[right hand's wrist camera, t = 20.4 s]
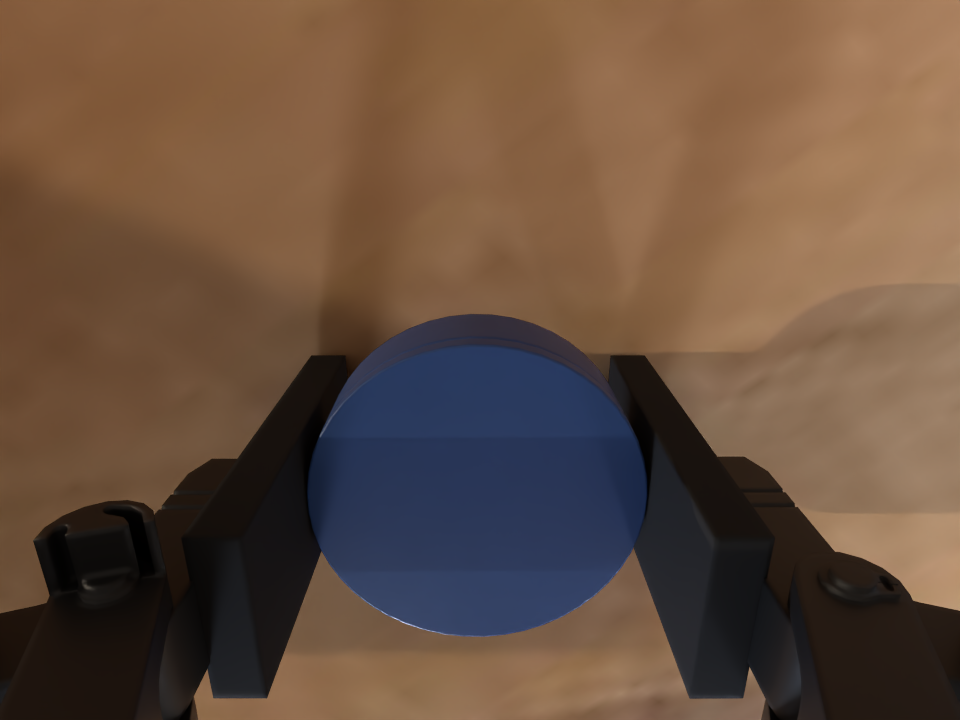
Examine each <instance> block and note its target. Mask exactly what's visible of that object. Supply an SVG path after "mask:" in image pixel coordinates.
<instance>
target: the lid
mask: <svg viewBox="0 0 960 720" xmlns="http://www.w3.org/2000/svg"><path fill="white" fill-rule="evenodd" d="M647 497H648V493H647V473H646V467H645V461H644V457H643V453H642V450H641V447H640V444H639V441H638V439H637V437H636V435H635V433H634V431H633V429H632V427H631V425H630V423H629V421H628V419H627V417H626V415H625V414H624V412H623V410H622V408H621V406H620V404H619V402H618V400H617V398H616V396H615V395H614V393H613V391H612V389H611V387H610V385H609V383H608V382H607V380H606V379H605V378H604V376H603V375H602V373H601V372H600V370H599V369H598V368H597V367H596V366H595V365H594V364H593V362H592V361H591V360H590V359H589V358H588V357H587V356H586V355H585V354H584V353H583V352H581V351H580V350H579V349H577V348H576V347H575V346H574V345H572V344H571V343H570V342H569V341H567V340H565V339H563V338H562V337H560V336H558V335H557V334H555V333H553V332H552V331H549V330H547V329H545V328H542V327H540V326H538V325H535V324H533V323H530V322H526V321H522V320H519V319H515V318H511V317H504V316H498V315H486V314H467V315H458V316H449V317H444V318H440V319H436V320H432V321H428V322H425V323H423V324H420V325H417V326H415V327H412V328H409V329H407V330H405V331H404V332H402V333H400V334H398V335H396V336H394V337H392V338H391V339H389V340H388V341H386V342H385V343H384V344H382V345H381V346H379V347H378V348H377V349H375V350H374V351H373V352H372V353H371V354H370V355H369V356H368V357H367V358H366V359H364V360H363V361H362V362H361V363H360V364H359V366H358V367H357V368H356V370H355V371H354V372H353V373H352V375H351V376H350V377H349V378H348V380H347V382H346V383H345V385H344V387H343V389H342V390H341V392H340V394H339V396H338V398H337V400H336V402H335V404H334V406H333V408H332V410H331V412H330V415H329V417H328V419H327V421H326V423H325V425H324V427H323V429H322V431H321V433H320V436H319V438H318V441H317V443H316V446H315V448H314V451H313V454H312V458H311V462H310V467H309V471H308V481H307V501H308V512H309V516H310V520H311V524H312V528H313V531H314V534H315V536H316V539H317V541H318V544H319V547H320V549H321V550H322V552H323V554H324V556H325V557H326V559H327V561H328V563H329V564H330V566H331V567H332V568H333V569H334V571H335V572H336V573H337V575H338V576H339V577H340V579H341V580H342V581H343V582H344V583H345V584H346V585H347V586H348V587H349V588H350V589H351V590H352V591H353V592H354V593H355V594H357V595H358V596H359V597H361V598H362V599H363V600H364V601H366V602H367V603H368V604H370V605H371V606H373V607H374V608H376V609H378V610H379V611H381V612H383V613H384V614H386V615H388V616H390V617H392V618H394V619H396V620H399V621H401V622H403V623H405V624H408V625H411V626H414V627H417V628H420V629H423V630H427V631H432V632H436V633H441V634H447V635H456V636H478V637H485V636H495V635H505V634H510V633H515V632H520V631H525V630H528V629H531V628H535V627H538V626H541V625H544V624H546V623H549V622H551V621H553V620H556V619H558V618H560V617H562V616H564V615H566V614H568V613H570V612H571V611H573V610H575V609H577V608H578V607H580V606H581V605H583V604H584V603H585V602H587V601H588V600H589V599H591V598H592V597H594V596H595V595H596V594H597V593H598V592H599V591H600V590H601V589H602V588H603V587H605V586H606V585H607V584H608V583H609V582H610V581H611V579H612V578H613V577H614V576H615V575H616V573H617V572H618V571H619V570H620V569H621V567H622V566H623V564H624V563H625V561H626V559H627V558H628V556H629V555H630V553H631V552H632V549H633V547H634V545H635V543H636V541H637V538H638V536H639V534H640V530H641V527H642V524H643V520H644V517H645V511H646V504H647Z"/></svg>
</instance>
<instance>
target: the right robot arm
mask: <svg viewBox="0 0 960 720" xmlns="http://www.w3.org/2000/svg"><path fill="white" fill-rule="evenodd" d="M346 382H347V369H346V357H345V356H311V357H310V358H309V360H308V361H307V363H306V364H305V365H304V367H303V368H302V370H301V371H300V372H299V374H298V375H297V377H296V378H295V379H294V381H293V382H292V383H291V385H290V386H289V388H288V389H287V390H286V392H285V393H284V395H283V396H282V397H281V399H280V400H279V402H278V403H277V404H276V406H275V407H274V409H273V410H272V411H271V413H270V414H269V416H268V417H267V418H266V420H265V421H264V423H263V424H262V425H261V427H260V428H259V429H258V431H257V432H256V434H255V435H254V436H253V438H252V439H251V441H250V442H249V443H248V445H247V446H246V448H245V449H244V450H243V452H242V453H241V455H240V456H239V457H238V459H211V460H210V461H208V462H206V463H205V464H203V465H202V466H200V467H198V468H197V469H195V470H194V471H192V472H190V473H189V474H188V475H187V476H186V477H185V479H184V480H183V481H182V482H181V483H180V485H179V486H178V487H177V488H176V489H175V491H174V495H170V497H169V498H168V499H167V500H166V502H165V503H164V504H163V505H162V509H161V510H158V511H157V512H156V514H155V515H154V512H153V510H152V509H151V508H149V507H148V506H147V505H145V504H144V503H140V502H134V501H129V500H123V501H107V502H103V503H99V504H95V505H90V506H86V507H83V508H81V509H78V510H76V511H73V512H71V513H69V514H66V515H64V516H62V517H60V518H59V519H57V520H56V521H54V522H53V523H51V524H50V525H48V526H46V527H45V528H44V529H43V530H42V531H41V532H40V533H39V535H38V536H37V537H36V538H35V539H34V540H33V542H34V545H35V548H36V551H37V555H38V558H39V561H40V565H41V568H42V571H43V575H44V578H45V581H46V584H47V588H48V591H49V594H50V597H49V599H48V601H47V603H45V604H41V605H38V606H33V607H29V608H24V609H19V610H14V611H10V612H5V613H0V720H198V717H197V710H196V705H195V701H194V694H195V692H196V690H197V688H198V686H199V684H200V682H201V680H202V678H203V676H204V674H205V672H206V670H207V669H208V674H209V678H210V683H211V688H212V693H213V698H267V697H268V694H269V691H270V689H271V686H272V683H273V681H274V678H275V675H276V672H277V670H278V667H279V664H280V662H281V659H282V656H283V653H284V651H285V648H286V645H287V643H288V640H289V637H290V635H291V632H292V629H293V626H294V624H295V621H296V618H297V616H298V613H299V610H300V607H301V605H302V602H303V599H304V597H305V594H306V591H307V589H308V586H309V583H310V580H311V578H312V575H313V572H314V570H315V567H316V564H317V561H318V559H319V556H320V553H321V551H322V550H321V549H320V547H319V544H318V541H317V539H316V536H315V534H314V531H313V528H312V524H311V520H310V516H309V512H308V501H307V481H308V471H309V467H310V462H311V458H312V454H313V451H314V448H315V446H316V443H317V441H318V438H319V436H320V433H321V431H322V429H323V427H324V425H325V423H326V421H327V419H328V417H329V415H330V412H331V410H332V408H333V406H334V404H335V402H336V400H337V398H338V396H339V394H340V392H341V390H342V389H343V387H344V385H345V383H346ZM609 385H610V387H611V389H612V391H613V393H614V395H615V396H616V398H617V400H618V402H619V404H620V406H621V408H622V410H623V412H624V414H625V415H626V417H627V419H628V421H629V423H630V425H631V427H632V429H633V431H634V433H635V435H636V437H637V439H638V441H639V444H640V447H641V450H642V453H643V457H644V461H645V467H646V473H647V493H648V497H647V504H646V511H645V517H644V520H643V524H642V527H641V530H640V534H639V536H638V538H637V541H636V543H635V545H634V550H635V552H636V555H637V558H638V560H639V563H640V566H641V569H642V571H643V574H644V577H645V579H646V582H647V585H648V587H649V590H650V593H651V596H652V598H653V601H654V604H655V606H656V609H657V612H658V614H659V617H660V620H661V623H662V625H663V628H664V631H665V633H666V636H667V639H668V641H669V644H670V647H671V650H672V652H673V655H674V658H675V660H676V663H677V666H678V668H679V671H680V674H681V677H682V679H683V682H684V685H685V687H686V690H687V693H688V695H689V698H690V699H703V698H743V696H744V691H745V686H746V681H747V676H748V671H749V666H750V668H751V670H752V672H753V674H754V676H755V678H756V680H757V682H758V684H759V686H760V688H761V690H762V692H763V694H764V696H765V698H766V700H765V705H764V710H763V714H762V719H761V720H960V611H958V610H953V609H948V608H943V607H938V606H934V605H929V604H924V603H919V602H916V601H913V600H912V598H911V596H910V594H909V593H908V591H907V590H906V589H905V587H904V586H903V585H902V583H901V582H900V581H899V580H898V579H896V578H895V577H894V576H892V575H891V574H890V573H888V572H887V571H886V570H884V569H883V568H881V567H879V566H877V565H875V564H873V563H871V562H869V561H867V560H864V559H862V558H859V557H855V556H852V555H848V554H845V553H841V552H835V551H834V550H833V549H832V548H831V547H830V545H829V544H828V543H827V542H826V541H825V539H824V538H823V537H822V536H821V535H820V533H819V532H818V531H817V530H816V529H815V527H814V526H813V525H812V524H811V523H810V521H809V520H808V519H807V518H806V517H805V515H804V514H803V513H802V512H801V511H800V509H799V508H798V507H795V503H794V502H793V501H792V500H791V499H790V497H789V496H788V495H787V494H786V493H785V492H783V491H782V488H781V487H780V485H779V484H778V483H777V482H776V481H775V479H774V478H773V477H772V476H771V475H770V473H769V472H768V471H766V470H765V469H763V468H762V467H760V466H758V465H757V464H755V463H754V462H752V461H750V460H749V459H747V458H745V457H717V456H716V454H715V453H714V452H713V450H712V449H711V448H710V446H709V445H708V443H707V442H706V441H705V439H704V438H703V436H702V435H701V434H700V432H699V431H698V429H697V428H696V427H695V425H694V424H693V422H692V421H691V420H690V418H689V417H688V415H687V414H686V413H685V411H684V410H683V409H682V407H681V406H680V404H679V403H678V402H677V400H676V399H675V397H674V396H673V395H672V393H671V392H670V390H669V389H668V388H667V386H666V385H665V383H664V382H663V381H662V379H661V378H660V376H659V375H658V374H657V372H656V371H655V369H654V368H653V367H652V365H651V364H650V363H649V361H648V360H647V358H646V357H645V356H611V358H610V371H609Z"/></svg>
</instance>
